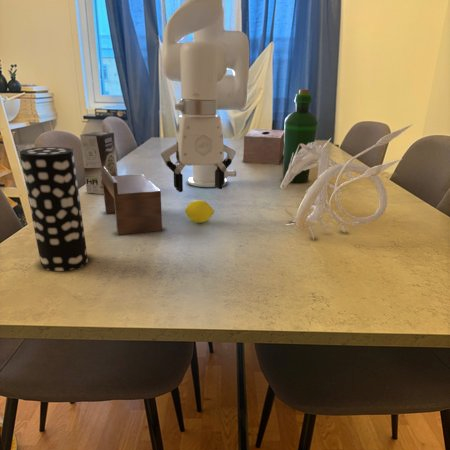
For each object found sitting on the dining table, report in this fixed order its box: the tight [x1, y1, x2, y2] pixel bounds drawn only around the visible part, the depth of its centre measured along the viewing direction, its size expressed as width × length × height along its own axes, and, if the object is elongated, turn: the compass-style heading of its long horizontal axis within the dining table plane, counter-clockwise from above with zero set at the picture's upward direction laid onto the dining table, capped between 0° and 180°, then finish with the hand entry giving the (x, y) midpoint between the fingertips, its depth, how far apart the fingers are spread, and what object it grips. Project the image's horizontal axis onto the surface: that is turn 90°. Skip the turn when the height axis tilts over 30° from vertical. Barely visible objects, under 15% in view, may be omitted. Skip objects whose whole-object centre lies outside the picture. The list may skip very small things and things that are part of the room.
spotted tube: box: [19, 146, 89, 272], centre depth 76 cm, size 8×8×20 cm
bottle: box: [282, 88, 319, 184], centre depth 140 cm, size 11×11×28 cm
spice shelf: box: [101, 166, 163, 236], centre depth 101 cm, size 10×18×11 cm, turn 22°
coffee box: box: [79, 131, 119, 195], centre depth 125 cm, size 9×6×16 cm
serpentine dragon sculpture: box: [279, 123, 413, 241], centre depth 93 cm, size 45×21×26 cm, turn 4°
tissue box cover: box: [242, 128, 284, 165], centre depth 183 cm, size 26×14×10 cm, turn 169°
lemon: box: [184, 199, 215, 224], centre depth 103 cm, size 7×5×5 cm
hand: (199, 189), depth 100 cm, fingers open, 9 cm apart
